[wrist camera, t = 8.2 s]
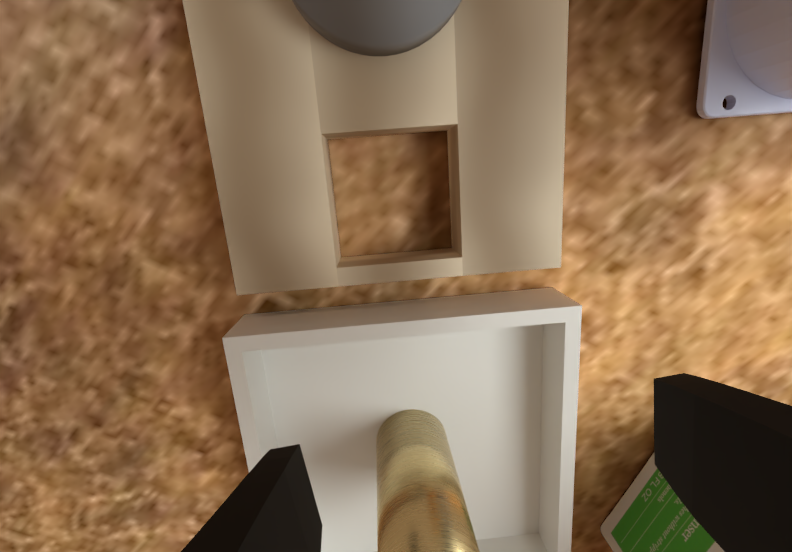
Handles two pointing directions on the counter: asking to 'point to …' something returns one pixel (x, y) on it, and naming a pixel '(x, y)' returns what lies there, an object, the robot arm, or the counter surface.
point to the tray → (422, 405)
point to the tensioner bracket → (382, 128)
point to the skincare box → (654, 519)
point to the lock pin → (419, 488)
